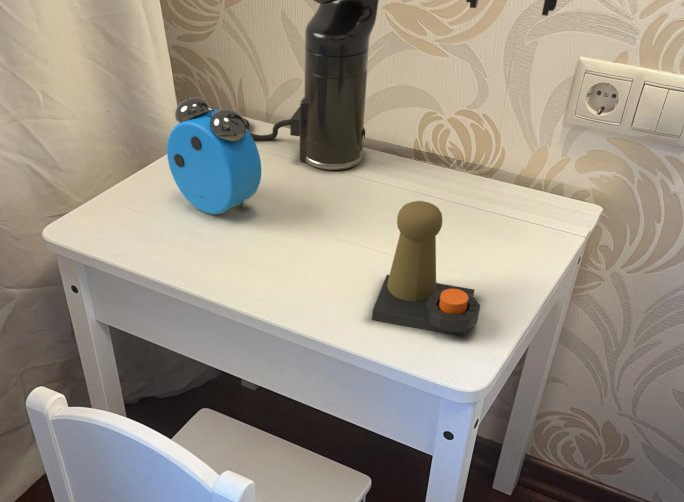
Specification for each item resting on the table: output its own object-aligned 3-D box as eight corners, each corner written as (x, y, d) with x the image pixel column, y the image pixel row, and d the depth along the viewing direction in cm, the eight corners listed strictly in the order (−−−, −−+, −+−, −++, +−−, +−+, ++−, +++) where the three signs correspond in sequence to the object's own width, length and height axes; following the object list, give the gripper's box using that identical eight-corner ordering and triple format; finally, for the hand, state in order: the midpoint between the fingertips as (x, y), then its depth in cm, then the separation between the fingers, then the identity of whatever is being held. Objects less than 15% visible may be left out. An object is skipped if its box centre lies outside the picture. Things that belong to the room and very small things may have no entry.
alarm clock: (264, 213, 118) (261, 110, 108) (233, 230, 114) (228, 125, 104) (199, 184, 124) (192, 84, 114) (169, 199, 120) (158, 98, 110)
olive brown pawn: (391, 270, 104) (399, 191, 97) (439, 277, 103) (451, 198, 96) (382, 296, 100) (390, 216, 93) (432, 305, 99) (444, 223, 91)
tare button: (436, 312, 95) (438, 301, 94) (441, 297, 98) (442, 286, 97) (464, 317, 95) (466, 306, 94) (468, 301, 97) (470, 291, 96)
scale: (369, 326, 98) (370, 305, 96) (385, 283, 104) (387, 263, 102) (472, 345, 95) (476, 324, 93) (482, 300, 102) (486, 279, 100)
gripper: (606, -151, 90) (571, 7, 101) (475, -159, 93) (455, -6, 104) (604, -138, 84) (567, 26, 95) (464, -148, 88) (444, 13, 98)
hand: (508, 10), depth 99 cm, fingers open, 8 cm apart
